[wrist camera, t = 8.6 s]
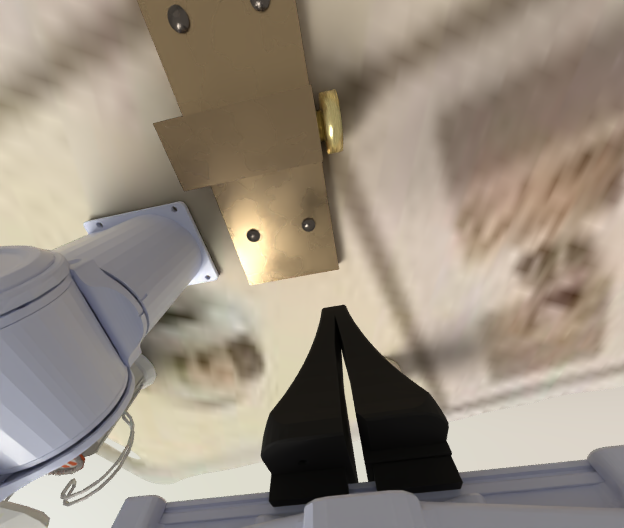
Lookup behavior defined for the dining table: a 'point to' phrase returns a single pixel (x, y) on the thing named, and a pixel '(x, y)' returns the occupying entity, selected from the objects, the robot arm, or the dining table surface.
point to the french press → (79, 462)
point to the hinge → (247, 128)
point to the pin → (330, 121)
